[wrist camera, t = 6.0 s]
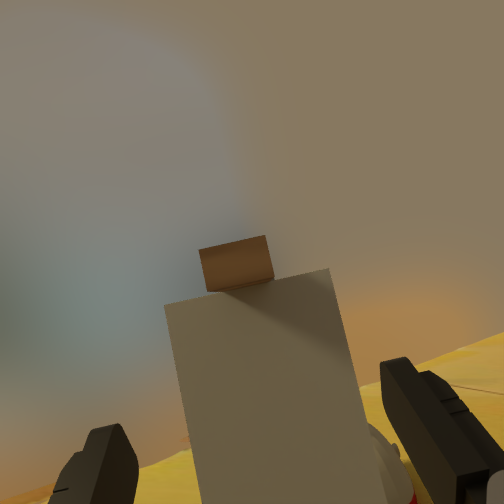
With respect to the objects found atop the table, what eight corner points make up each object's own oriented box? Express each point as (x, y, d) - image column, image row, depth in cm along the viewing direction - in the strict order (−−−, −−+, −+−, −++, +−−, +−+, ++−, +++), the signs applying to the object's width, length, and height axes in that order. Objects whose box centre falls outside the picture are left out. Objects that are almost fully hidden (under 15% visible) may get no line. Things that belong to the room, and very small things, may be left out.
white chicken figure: (370, 466, 61) (348, 376, 62) (440, 502, 48) (409, 388, 50) (300, 502, 55) (278, 402, 57) (358, 554, 42) (327, 423, 44)
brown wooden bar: (274, 276, 21) (256, 196, 21) (207, 291, 21) (190, 210, 21) (267, 284, 42) (257, 243, 42) (233, 292, 42) (224, 251, 42)
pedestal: (449, 718, 26) (332, 252, 30) (243, 766, 26) (153, 292, 29) (382, 568, 40) (308, 265, 43) (249, 599, 39) (187, 292, 43)
